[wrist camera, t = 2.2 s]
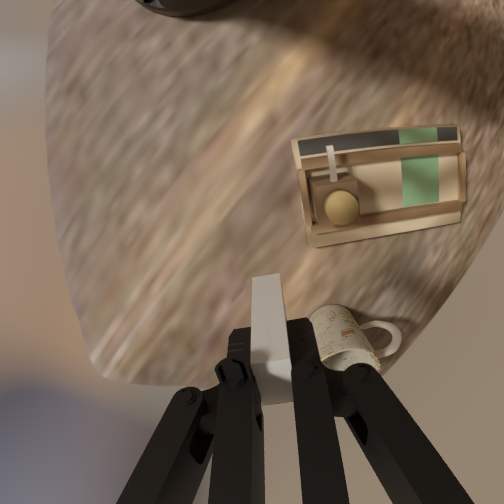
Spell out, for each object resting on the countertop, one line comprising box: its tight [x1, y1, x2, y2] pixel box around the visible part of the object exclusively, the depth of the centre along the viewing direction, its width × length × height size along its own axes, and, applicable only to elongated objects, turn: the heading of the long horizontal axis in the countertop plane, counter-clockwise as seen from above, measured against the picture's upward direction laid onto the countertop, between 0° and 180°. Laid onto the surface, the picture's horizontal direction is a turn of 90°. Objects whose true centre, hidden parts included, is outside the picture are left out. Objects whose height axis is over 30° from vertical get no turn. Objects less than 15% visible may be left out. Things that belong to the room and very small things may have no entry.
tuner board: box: [291, 124, 466, 248], centre depth 32 cm, size 12×20×2 cm, turn 101°
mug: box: [309, 305, 402, 373], centre depth 37 cm, size 8×12×10 cm, turn 105°
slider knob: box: [308, 145, 360, 227], centre depth 29 cm, size 7×4×6 cm, turn 11°
